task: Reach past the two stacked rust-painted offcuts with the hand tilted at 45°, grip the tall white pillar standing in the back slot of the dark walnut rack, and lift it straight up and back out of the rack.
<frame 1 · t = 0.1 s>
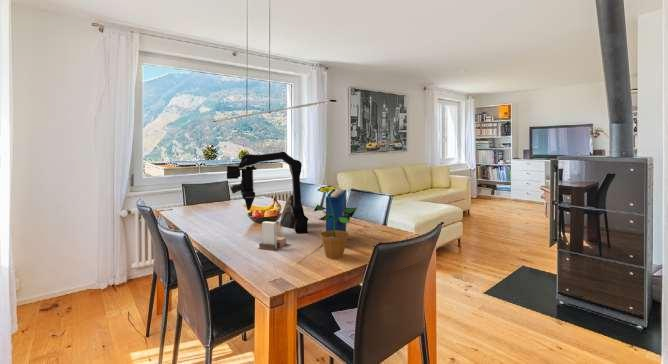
hand: (248, 208, 181), 15 cm above the table, tool pointing down, fingers open, 9 cm apart
potted plant: (334, 257, 150), on the table
book: (335, 241, 174), on the table
tall white pillar: (269, 248, 159), point 1 cm above the table, touching rack
offcut top: (276, 241, 164), point 2 cm above the table, touching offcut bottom
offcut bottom: (276, 244, 164), point 1 cm above the table, touching offcut top, rack
owl: (290, 226, 205), on the table
rack: (273, 247, 162), on the table
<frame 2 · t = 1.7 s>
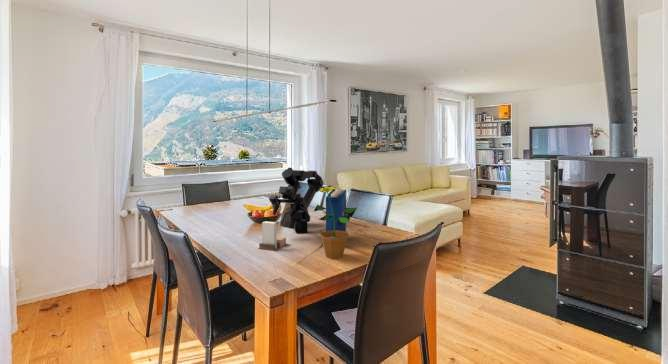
hand: (282, 215, 169), 14 cm above the table, tool tilted 45°, fingers open, 9 cm apart
nothing on the table moved.
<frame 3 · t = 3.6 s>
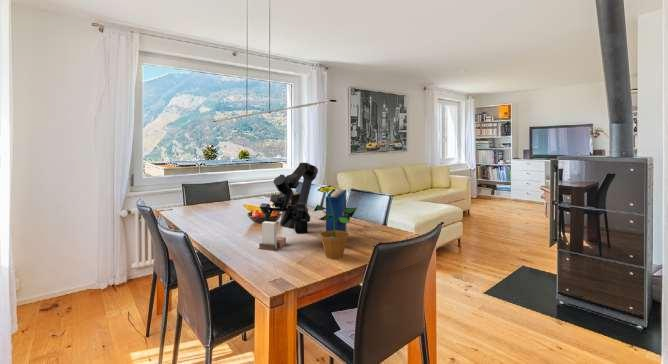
hand: (273, 224, 161), 11 cm above the table, tool tilted 45°, fingers open, 9 cm apart
nothing on the table moved.
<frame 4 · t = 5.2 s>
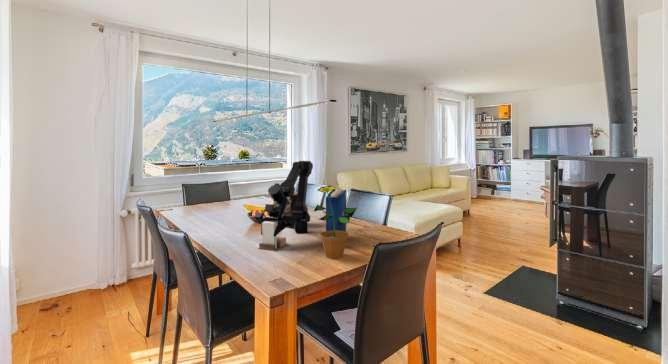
hand: (267, 235, 157), 7 cm above the table, tool tilted 45°, fingers closed on tall white pillar, 6 cm apart
tall white pillar: (269, 248, 159), point 1 cm above the table, touching gripper, rack
everything else where it was.
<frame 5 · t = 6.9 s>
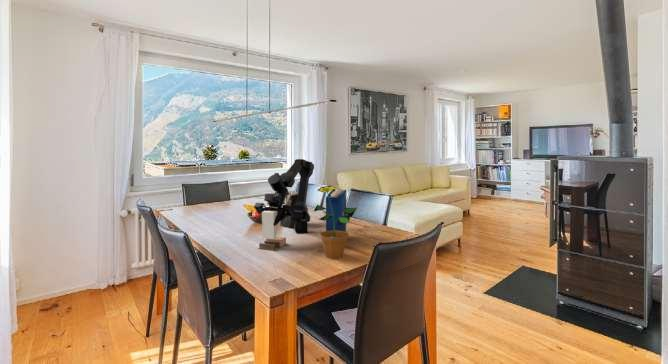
hand: (267, 224, 156), 12 cm above the table, tool tilted 45°, fingers closed on tall white pillar, 6 cm apart
tall white pillar: (269, 237, 158), point 6 cm above the table, touching gripper
everything else where it was.
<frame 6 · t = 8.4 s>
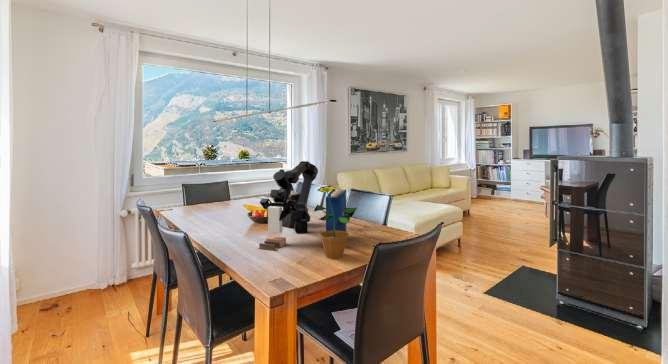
hand: (273, 219, 161), 13 cm above the table, tool tilted 45°, fingers closed on tall white pillar, 6 cm apart
tall white pillar: (275, 232, 163), point 7 cm above the table, touching gripper
everything else where it was.
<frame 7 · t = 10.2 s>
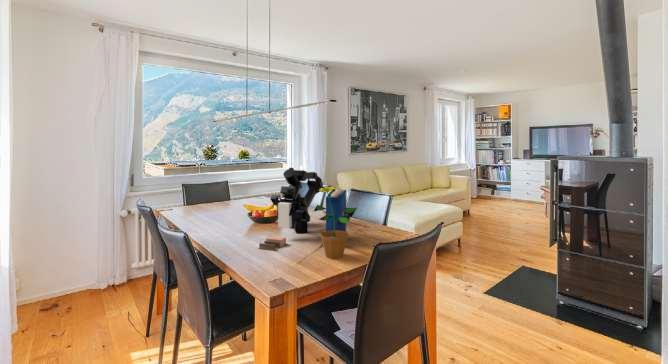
hand: (283, 215, 170), 13 cm above the table, tool tilted 45°, fingers closed on tall white pillar, 6 cm apart
tall white pillar: (285, 227, 172), point 7 cm above the table, touching gripper
everything else where it was.
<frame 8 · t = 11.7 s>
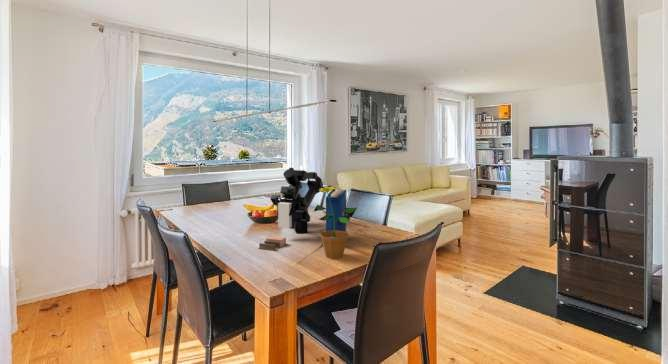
hand: (283, 215, 170), 13 cm above the table, tool tilted 45°, fingers closed on tall white pillar, 6 cm apart
tall white pillar: (285, 227, 172), point 7 cm above the table, touching gripper
everything else where it was.
at the end: the gripper is holding tall white pillar; tall white pillar point 7.2 cm above the table; offcut top moved 0.0 cm from its start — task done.
